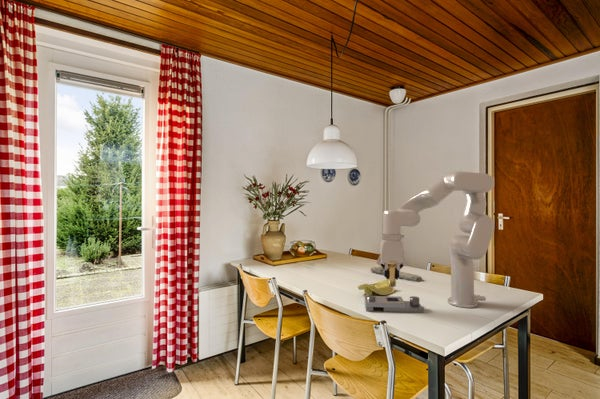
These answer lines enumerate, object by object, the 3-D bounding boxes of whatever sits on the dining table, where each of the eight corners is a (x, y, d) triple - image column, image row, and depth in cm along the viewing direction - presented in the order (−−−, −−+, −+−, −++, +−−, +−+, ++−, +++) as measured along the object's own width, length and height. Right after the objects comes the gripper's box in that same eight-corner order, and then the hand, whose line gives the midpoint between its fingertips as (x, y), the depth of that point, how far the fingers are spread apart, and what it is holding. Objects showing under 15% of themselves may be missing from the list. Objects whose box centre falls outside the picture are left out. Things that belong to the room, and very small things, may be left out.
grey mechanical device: (417, 305, 148) (417, 294, 148) (423, 312, 139) (423, 301, 139) (364, 304, 150) (364, 293, 150) (366, 311, 141) (366, 300, 141)
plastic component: (376, 283, 178) (390, 278, 171) (381, 296, 175) (396, 292, 168) (353, 287, 165) (368, 282, 158) (358, 302, 162) (373, 297, 155)
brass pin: (397, 284, 147) (397, 259, 147) (399, 287, 141) (399, 262, 141) (384, 283, 147) (384, 259, 147) (386, 287, 142) (386, 262, 142)
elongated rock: (416, 285, 185) (424, 283, 192) (417, 276, 185) (425, 274, 191) (366, 272, 211) (375, 270, 218) (367, 264, 211) (376, 262, 218)
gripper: (409, 236, 147) (409, 277, 147) (372, 236, 149) (372, 276, 149) (412, 239, 139) (412, 281, 140) (373, 238, 141) (373, 280, 142)
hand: (391, 278), depth 144 cm, fingers closed on brass pin, 3 cm apart
